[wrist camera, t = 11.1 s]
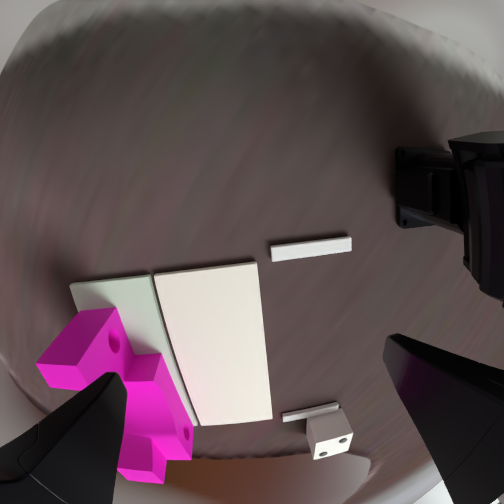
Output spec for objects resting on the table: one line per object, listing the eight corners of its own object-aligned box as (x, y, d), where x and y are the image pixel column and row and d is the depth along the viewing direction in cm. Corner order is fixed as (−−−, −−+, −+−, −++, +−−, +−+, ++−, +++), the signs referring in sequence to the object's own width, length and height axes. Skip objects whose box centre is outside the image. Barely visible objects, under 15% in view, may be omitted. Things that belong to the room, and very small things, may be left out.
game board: (348, 236, 20) (351, 237, 19) (336, 407, 25) (337, 410, 25) (68, 271, 18) (65, 273, 18) (137, 426, 24) (136, 429, 23)
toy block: (193, 426, 24) (190, 484, 16) (140, 426, 23) (127, 479, 16) (144, 303, 19) (111, 366, 12) (80, 310, 19) (35, 363, 12)
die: (341, 407, 25) (353, 433, 21) (337, 426, 27) (348, 451, 23) (307, 415, 25) (316, 443, 21) (305, 434, 26) (313, 460, 22)
